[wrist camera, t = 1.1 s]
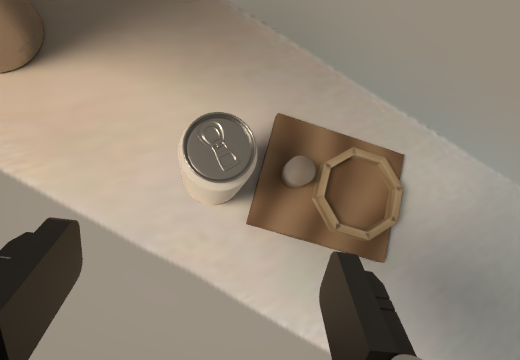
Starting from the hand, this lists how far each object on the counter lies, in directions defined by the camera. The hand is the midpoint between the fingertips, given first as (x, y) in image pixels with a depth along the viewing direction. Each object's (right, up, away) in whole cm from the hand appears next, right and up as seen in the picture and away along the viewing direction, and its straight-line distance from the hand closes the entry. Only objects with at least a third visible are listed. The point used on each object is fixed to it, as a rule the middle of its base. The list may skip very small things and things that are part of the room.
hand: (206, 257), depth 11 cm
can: (-4, +3, +27) cm, 27 cm away
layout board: (+9, +2, +29) cm, 31 cm away
